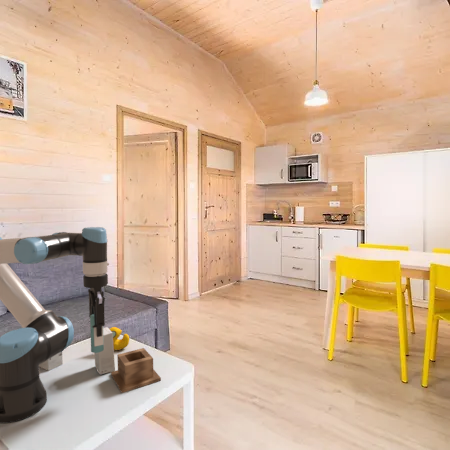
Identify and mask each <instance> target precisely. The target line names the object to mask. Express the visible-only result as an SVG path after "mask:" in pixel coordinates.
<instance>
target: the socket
mask: <svg viewBox="0 0 450 450" xmlns="http://www.w3.org/2000/svg"><path fill="white" fill-rule="evenodd" d="M116 355H117V370H115V371H112V372H110V375H111V377H112V379H113V381H114V382H115V384H116V386H117V387H118V389H119V391H120V393H122V394H123V393H126V392H130V391H133V390H136V389H138V388H141V387H145V386H149V385H151V384H154V383H157V382H160V381H162V377H160V375H159V374H158V373H157V371H156V370H155V369H154V358H153V356H152V355H151V354H150V353H149V352H148V351H147V350H146V348H144V347H142V348H139V349H134V350H130V351H126V352H122V353H118V354H116Z"/></svg>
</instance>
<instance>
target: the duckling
mask: <svg viewBox="0 0 450 450" xmlns="http://www.w3.org/2000/svg"><path fill="white" fill-rule="evenodd" d="M109 329H110V330H111V332H112V333H113V347H114V352H116V351H120V350H122V349H125V348H126V347H128V346H129V344H130V335H129V334H128V333H124V334H123V336H122V338H121V339H120V336H121V334H122V331H123V330H122V329H120V328H118V327H116V326H113V327H110V328H109Z"/></svg>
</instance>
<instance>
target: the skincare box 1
mask: <svg viewBox="0 0 450 450" xmlns="http://www.w3.org/2000/svg"><path fill="white" fill-rule="evenodd" d="M63 364H64V363H63V351H62V352H60V353H58V354H56V355H55V356H53V357H51V358H50V359H48V360H46V361H45V362H43V363H41V364H40V365H39V368H40V369H43V370H46V371H48V372H49V371H50V370H53V369H55V368H58V367H59V366H62V365H63Z"/></svg>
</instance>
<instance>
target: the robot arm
mask: <svg viewBox="0 0 450 450" xmlns="http://www.w3.org/2000/svg"><path fill="white" fill-rule="evenodd" d="M67 256H82V274H83V277H82V279H83V287H84V288H86V289H88V290H87V292H88V309H89V313H88V314H89V316H88V317H89V318H90V315H92V314H94V322H95V325H94V326H92V327H93V328H94V346H99V345H103V328H104V327H105V326H106V324H105V300H106V298H105V296H104V295H105V294H104V291H102V288H103V287H106V286H107V285H109V280H108V279H109V278H108V277H109V274H107V273H108V266H109V265H110V263H109V262H108V236H107V229H106V228H104V227H103V226H102V227H100V226H88V227H83V228H82V230H81V232H66V231H62V232H54V233H52V234H50V235H42V236H40V235H39V236H32V237H31V236H30V237H19V238H16V237H15V238H2V237H1V236H0V301H1V302H2V304H3V305H4V306H5V308H7V310H8V311H9V312H10V314H12V316H13V317H14V319H15V320H16V321H17V322H18V323H19V324H20V327H21V328H20V327H19V328H17V329H16V330H15V329H13V330H10V331H8V332H6V333H4V334H2V335H1V336H0V424H8V423H13V422H18V421H21V420H24V419H27V418H29V417H31V416H33V415H34V414H36V413H38V412H39V411H41V410H42V409H43V408H44V407H45V405H46V403H47V399H48V397H47V391H46V389H45V386H44V384H43V383H42V380H41V378H40V377H41V376H40V367H39V365H40V364H41V363H43V362H45V361H46V360H48V359H50V358H51V357H53V356H55V355H56V354H58V353H60V352H62V353H63V351H64V350H65V349H68V347H69V346H71V344H72V342H73V341H74V337H75V335H74V333H75V329H74V326H73V323H72V321H71V320H70V319H69V318H68V317H67V316H62V315H59V316H57V315H56V313H55V312H54V311H53V310H49V309H47V310H46V309H45V307H43V305H42V304H41V303H40V302H39V300H37V298H36V296H34V294H33V293H32V292H31V291H30V290H29V288H28V287H27V286H26V285H25V283H24V282H23V281H22V280H21V278H20V277H19V276H18V275H17V274H16V272H15V271H14V270H13V269H12V268H11V266H10V265H9V264H20V263H21V264H22V265H34V264H38V263H41V262H45V261H49V260H55V259H59V258H63V257H67Z"/></svg>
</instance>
